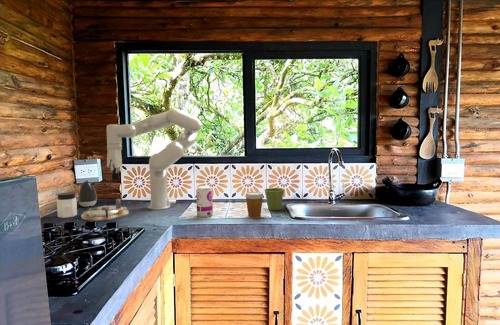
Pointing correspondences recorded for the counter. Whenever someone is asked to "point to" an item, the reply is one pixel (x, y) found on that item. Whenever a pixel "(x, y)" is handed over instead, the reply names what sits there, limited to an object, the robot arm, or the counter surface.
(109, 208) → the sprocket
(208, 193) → the supplement can
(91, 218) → the sprocket base
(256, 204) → the disposable coffee cup
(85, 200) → the gray teardrop vessel
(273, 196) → the plant pot
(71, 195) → the jar
